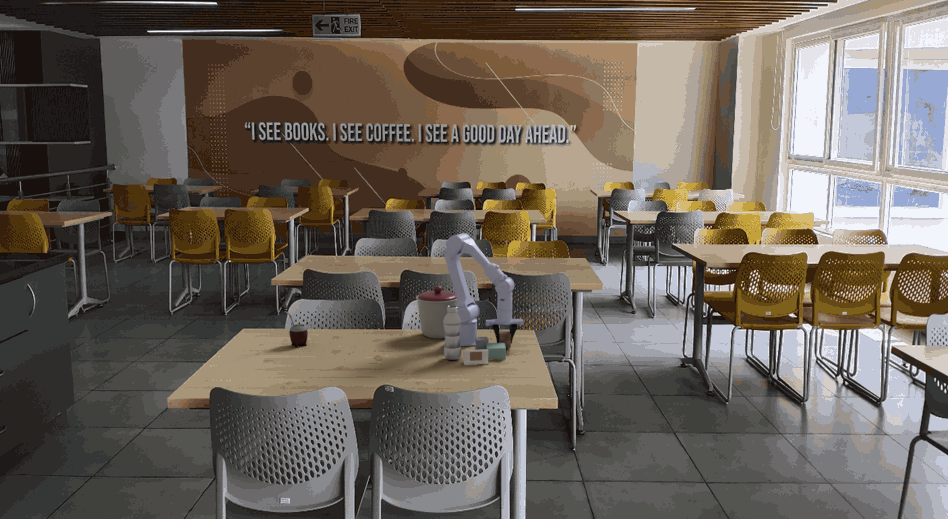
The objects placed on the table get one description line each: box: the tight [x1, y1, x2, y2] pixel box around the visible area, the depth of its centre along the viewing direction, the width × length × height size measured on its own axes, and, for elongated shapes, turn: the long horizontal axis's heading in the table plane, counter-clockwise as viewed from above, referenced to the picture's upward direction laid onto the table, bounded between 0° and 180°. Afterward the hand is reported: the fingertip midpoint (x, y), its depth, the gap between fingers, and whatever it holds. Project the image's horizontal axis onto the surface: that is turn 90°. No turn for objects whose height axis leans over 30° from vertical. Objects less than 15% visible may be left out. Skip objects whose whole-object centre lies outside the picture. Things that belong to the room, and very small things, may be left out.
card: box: [462, 349, 489, 366], centre depth 259 cm, size 9×3×5 cm, turn 97°
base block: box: [486, 342, 507, 360], centre depth 267 cm, size 7×7×4 cm
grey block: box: [474, 336, 489, 350], centre depth 273 cm, size 4×4×6 cm
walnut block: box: [499, 330, 512, 349], centre depth 278 cm, size 4×4×6 cm
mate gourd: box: [284, 310, 309, 349], centre depth 280 cm, size 8×8×15 cm
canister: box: [415, 285, 457, 339], centre depth 295 cm, size 18×18×21 cm
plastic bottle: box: [443, 306, 463, 361], centre depth 263 cm, size 6×7×20 cm
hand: (504, 343), depth 278 cm, fingers closed on walnut block, 4 cm apart
